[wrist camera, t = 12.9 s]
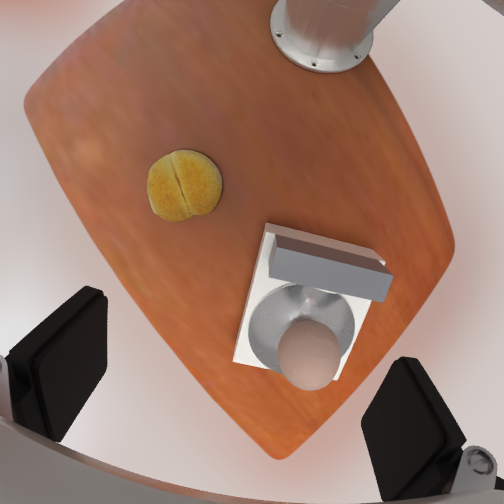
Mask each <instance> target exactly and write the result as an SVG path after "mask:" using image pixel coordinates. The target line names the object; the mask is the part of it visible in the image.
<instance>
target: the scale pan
mask: <svg viewBox="0 0 504 504" xmlns="http://www.w3.org/2000/svg"><path fill="white" fill-rule="evenodd" d="M305 320H314V321H317V322H320V323H322V324H324V325H326V326H327V327H329V328H330V329H331V330H332V331H333V332H334V334H335V336H336V337H337V340H338V342H339V345H340V350H341V358H342V357H343V355H344V354H345V353H346V352H347V350H348V349H349V347H350V345H351V343H352V340H353V337H354V333H355V319H354V316H353V313H352V310H351V308H350V306H349V304H348V303H347V301H346V300H345V299H344V297H343V296H342V295H341V294H340V293H339V294H333V293H327V292H324V291H321V290H318V289H316V288H313V287H309V286H304V285H300V284H296V283H289V284H286V285H283V286H280V287H278V288H276V289H274V290H273V291H271V292H270V293H268V294H267V295H266V296H265V297H263V299H262V300H261V301H260V302H259V303H258V304H257V306H256V307H255V309H254V311H253V313H252V315H251V318H250V322H249V328H248V338H249V343H250V347H251V349H252V351H253V353H254V354H255V356H256V357H257V358H258V360H259V361H260V362H261V363H263V364H264V365H265V366H266V367H268V368H269V369H271V370H273V371H276V372H278V373H281V374H283V373H282V371H281V369H280V366H279V362H278V345H279V342H280V339H281V337H282V335H283V334H284V332H285V331H286V330H287V329H288V328H289V327H291V326H292V325H293V324H295V323H297V322H300V321H305Z"/></svg>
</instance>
